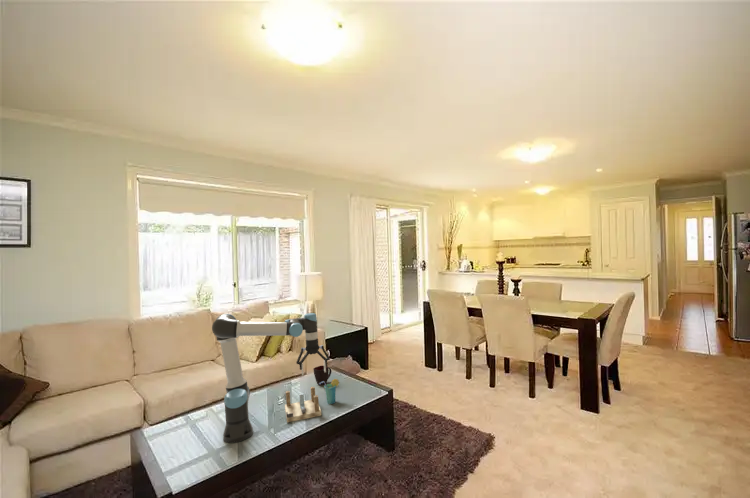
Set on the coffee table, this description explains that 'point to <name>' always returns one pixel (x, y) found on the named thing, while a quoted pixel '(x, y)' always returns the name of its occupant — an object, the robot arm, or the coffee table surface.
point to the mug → (321, 374)
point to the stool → (295, 411)
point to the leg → (302, 403)
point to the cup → (331, 390)
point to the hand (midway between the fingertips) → (314, 373)
